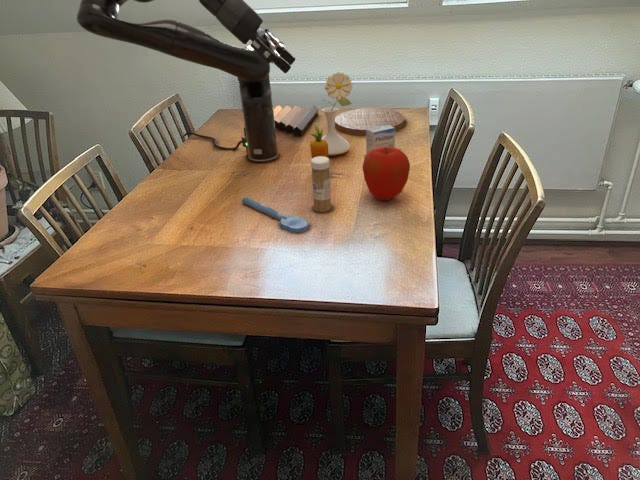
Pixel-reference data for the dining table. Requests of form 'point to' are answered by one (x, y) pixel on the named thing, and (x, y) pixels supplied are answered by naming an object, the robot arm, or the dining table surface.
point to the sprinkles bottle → (321, 183)
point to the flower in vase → (338, 89)
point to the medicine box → (380, 137)
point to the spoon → (280, 217)
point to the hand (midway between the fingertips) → (291, 66)
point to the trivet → (368, 120)
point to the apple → (386, 172)
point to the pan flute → (294, 118)
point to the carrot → (319, 145)
